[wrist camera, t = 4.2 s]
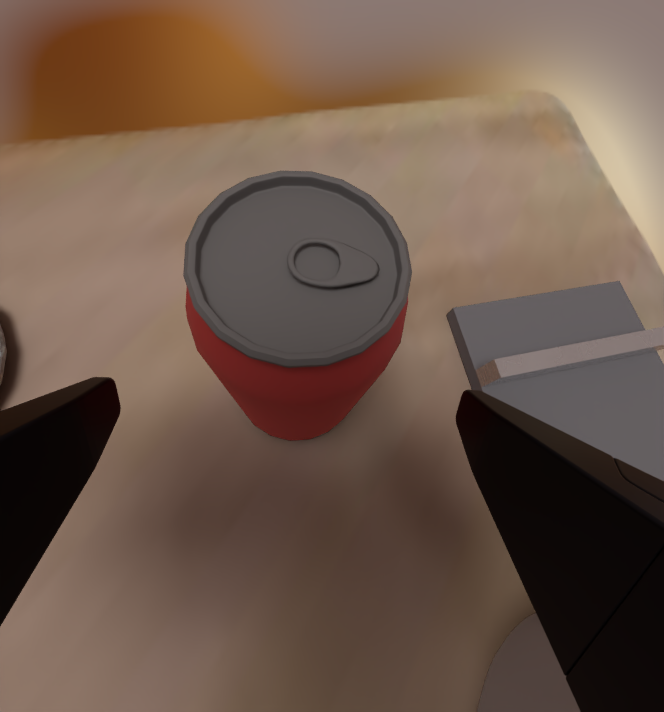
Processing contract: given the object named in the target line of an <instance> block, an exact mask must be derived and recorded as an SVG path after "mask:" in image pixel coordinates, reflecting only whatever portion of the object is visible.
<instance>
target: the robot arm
mask: <svg viewBox="0 0 664 712" xmlns="http://www.w3.org/2000/svg"><path fill="white" fill-rule="evenodd" d="M119 415H120V402H119V397H118V393H117V388H116V384H115V381H114V380H113V379H112V378H108V377H93V378H90V379H87V380H84V381H82V382H79V383H76V384H74V385H71V386H68V387H65V388H63V389H60V390H57V391H54V392H52V393H49V394H46V395H44V396H41V397H38V398H35V399H33V400H30V401H27V402H24V403H22V404H19V405H16V406H14V407H11V408H8V409H5V410H3V411H0V626H1V624H2V623H3V621H4V619H5V618H6V616H7V614H8V613H9V611H10V609H11V608H12V606H13V604H14V603H15V601H16V599H17V598H18V596H19V594H20V593H21V591H22V589H23V588H24V586H25V584H26V583H27V581H28V579H29V578H30V576H31V574H32V573H33V571H34V569H35V568H36V566H37V564H38V563H39V561H40V559H41V558H42V556H43V554H44V553H45V551H46V549H47V548H48V546H49V544H50V543H51V541H52V539H53V538H54V536H55V534H56V533H57V531H58V529H59V528H60V526H61V524H62V523H63V521H64V519H65V518H66V516H67V514H68V513H69V511H70V509H71V508H72V506H73V504H74V503H75V501H76V499H77V498H78V496H79V494H80V493H81V491H82V489H83V488H84V486H85V484H86V483H87V481H88V479H89V478H90V476H91V474H92V472H93V471H94V469H95V467H96V465H97V463H98V461H99V459H100V457H101V455H102V452H103V450H104V448H105V446H106V444H107V441H108V439H109V437H110V435H111V433H112V430H113V428H114V426H115V424H116V422H117V419H118V417H119ZM456 424H457V427H458V430H459V433H460V436H461V440H462V443H463V446H464V449H465V452H466V455H467V458H468V461H469V464H470V467H471V470H472V472H473V475H474V477H475V479H476V482H477V484H478V486H479V488H480V490H481V493H482V495H483V497H484V499H485V501H486V504H487V506H488V508H489V510H490V513H491V515H492V517H493V519H494V521H495V524H496V526H497V528H498V530H499V532H500V535H501V537H502V539H503V541H504V543H505V546H506V548H507V550H508V552H509V554H510V557H511V559H512V561H513V563H514V565H515V568H516V570H517V572H518V574H519V576H520V579H521V581H522V583H523V585H524V588H525V590H526V592H527V594H528V596H529V599H530V601H531V603H532V605H533V607H534V610H535V612H536V614H537V616H538V618H539V621H540V623H541V625H542V627H543V629H544V632H545V634H546V636H547V638H548V640H549V643H550V645H551V647H552V649H553V651H554V654H555V656H556V658H557V660H558V663H559V665H560V667H561V669H562V671H563V674H564V675H565V676H566V681H567V683H568V685H569V687H570V690H571V692H572V694H573V696H574V698H575V701H576V703H577V705H578V707H579V709H580V712H664V481H662V480H660V479H658V478H656V477H654V476H652V475H650V474H648V473H646V472H644V471H642V470H640V469H638V468H636V467H633V466H631V465H629V464H627V463H625V462H623V461H621V460H619V459H617V458H613V457H612V456H611V455H609V454H607V453H605V452H603V451H601V450H599V449H597V448H595V447H593V446H591V445H589V444H587V443H585V442H583V441H581V440H579V439H577V438H575V437H573V436H571V435H569V434H567V433H565V432H563V431H561V430H559V429H557V428H555V427H553V426H551V425H549V424H547V423H545V422H543V421H541V420H539V419H537V418H535V417H533V416H531V415H529V414H527V413H525V412H523V411H521V410H519V409H517V408H515V407H513V406H511V405H509V404H507V403H505V402H503V401H501V400H499V399H497V398H495V397H493V396H491V395H489V394H487V393H485V392H483V391H480V390H465V391H464V392H463V394H462V396H461V400H460V403H459V407H458V410H457V414H456Z"/></svg>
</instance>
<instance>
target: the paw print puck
mask: <svg viewBox="0 0 664 712" xmlns="http://www.w3.org/2000/svg"><path fill="white" fill-rule="evenodd" d="M477 712H580V709H579V707H578V705H577V703H576V701H575V698H574V696H573V694H572V692H571V690H570V687H569V685H568V683H567V681H566V676H565V675H564V674H563V671H562V669H561V667H560V665H559V663H558V660H557V658H556V656H555V654H554V651H553V649H552V647H551V645H550V643H549V640H548V638H547V636H546V634H545V632H544V629H543V627H542V625H541V623H540V621H539V618H538V616H537V614H536V613H535V614H533V615H531V616H529V617H527V618H525V619H524V620H523V621H521V622H520V623H519V624H518V625H517V626H516V627H515V628H514V629H513V630H512V631H511V633H510V634H509V635H508V637H507V638H506V639H505V641H504V642H503V644H502V645H501V647H500V648H499V650H498V652H497V653H496V655H495V657H494V659H493V661H492V663H491V665H490V667H489V670H488V673H487V676H486V679H485V682H484V686H483V689H482V693H481V697H480V701H479V705H478V709H477Z"/></svg>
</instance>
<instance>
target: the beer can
mask: <svg viewBox="0 0 664 712" xmlns="http://www.w3.org/2000/svg"><path fill="white" fill-rule="evenodd" d="M411 275H412V269H411V264H410V258H409V252H408V247H407V242H406V241H405V239H404V237H403V235H402V233H401V231H400V230H399V228H398V226H397V224H396V222H395V221H394V219H393V217H392V216H391V215H390V214H389V213H388V212H387V211H386V210H385V209H384V208H383V207H382V206H381V205H380V204H379V203H378V202H377V201H376V200H375V199H374V198H373V197H372V196H371V195H369V194H367V193H365V192H364V191H362V190H360V189H358V188H357V187H355V186H353V185H351V184H349V183H348V182H346V181H344V180H342V179H338V178H334V177H330V176H327V175H323V174H319V173H316V172H311V171H277V172H273V173H269V174H264V175H260V176H256V177H251V178H248V179H246V180H244V181H242V182H240V183H239V184H237V185H235V186H233V187H231V188H229V189H227V190H226V191H224V192H222V193H220V194H219V195H218V196H217V197H216V198H215V199H214V200H213V201H212V202H211V203H210V204H209V205H208V206H207V207H206V209H205V210H204V211H203V212H202V213H201V214H200V215H199V216H198V218H197V220H196V222H195V224H194V226H193V229H192V231H191V233H190V235H189V237H188V239H187V242H186V244H185V259H184V275H183V276H184V279H185V282H186V285H187V292H186V313H187V319H188V323H189V326H190V329H191V332H192V335H193V338H194V341H195V345H196V348H197V351H198V352H199V353H200V355H201V356H202V357H203V359H204V360H205V361H206V362H207V364H208V365H209V366H210V368H211V369H212V370H213V372H214V373H215V374H216V376H217V377H218V378H219V380H220V381H221V382H222V384H223V385H224V386H225V388H226V389H227V390H228V391H229V393H230V394H231V395H232V397H233V398H234V399H235V401H236V402H237V403H238V405H239V406H240V407H241V409H242V410H243V411H244V413H245V414H246V415H247V416H248V418H249V419H250V420H251V421H252V423H253V424H254V425H255V426H257V427H258V428H260V429H261V430H263V431H264V432H266V433H268V434H269V435H271V436H274V437H278V438H282V439H286V440H290V441H291V440H305V439H312V438H314V437H316V436H319V435H321V434H324V433H326V432H329V431H330V430H331V429H332V428H333V427H334V426H336V425H337V424H338V423H339V422H340V421H341V420H343V419H344V417H345V416H346V415H347V414H348V413H349V411H350V410H351V409H352V408H353V407H354V406H355V404H356V403H357V402H358V401H359V400H360V398H361V397H362V396H363V395H364V394H365V392H366V391H367V390H368V389H369V388H370V387H371V385H372V384H373V383H374V382H375V381H376V379H377V378H378V377H379V376H380V375H381V373H382V372H383V371H384V370H385V368H386V366H387V365H388V363H389V361H390V360H391V358H392V356H393V354H394V353H395V351H396V349H397V348H398V346H399V344H400V342H401V337H402V332H403V327H404V321H405V316H406V310H407V305H408V291H409V286H410V281H411Z"/></svg>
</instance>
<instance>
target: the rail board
mask: <svg viewBox="0 0 664 712" xmlns="http://www.w3.org/2000/svg"><path fill="white" fill-rule="evenodd" d="M447 318H448V321H449V324H450V327H451V330H452V333H453V336H454V338H455V341H456V344H457V347H458V350H459V353H460V356H461V359H462V362H463V364H464V367H465V370H466V373H467V376H468V379H469V382H470V385H471V387H472V390H480V391H483V392H485V393H487V394H489V395H491V396H493V397H495V398H497V399H499V400H501V401H503V402H505V403H507V404H509V405H511V406H513V407H515V408H517V409H519V410H521V411H523V412H525V413H527V414H529V415H531V416H533V417H535V418H537V419H539V420H541V421H543V422H545V423H547V424H549V425H551V426H553V427H555V428H557V429H559V430H561V431H563V432H565V433H567V434H569V435H571V436H573V437H575V438H577V439H579V440H581V441H583V442H585V443H587V444H589V445H591V446H593V447H595V448H597V449H599V450H601V451H603V452H605V453H607V454H609V455H611V456H612V457H613V458H617V459H619V460H621V461H623V462H625V463H627V464H629V465H631V466H633V467H636V468H638V469H640V470H642V471H644V472H646V473H648V474H650V475H652V476H654V477H656V478H658V479H660V480H662V481H664V364H663V363H662V361H661V359H660V357H659V355H658V353H657V351H658V350H661V349H664V327H659V328H654V329H649V330H645V328H644V327H643V325H642V323H641V321H640V319H639V317H638V315H637V313H636V311H635V310H634V308H633V306H632V304H631V302H630V300H629V298H628V296H627V294H626V293H625V291H624V289H623V287H622V285H621V283H620V281H616V282H610V283H604V284H598V285H591V286H585V287H579V288H573V289H567V290H561V291H554V292H548V293H542V294H536V295H530V296H524V297H517V298H511V299H505V300H499V301H493V302H487V303H480V304H474V305H468V306H462V307H456V308H453V309H452V310H451V311H450V312H449V313H448V314H447Z"/></svg>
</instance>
